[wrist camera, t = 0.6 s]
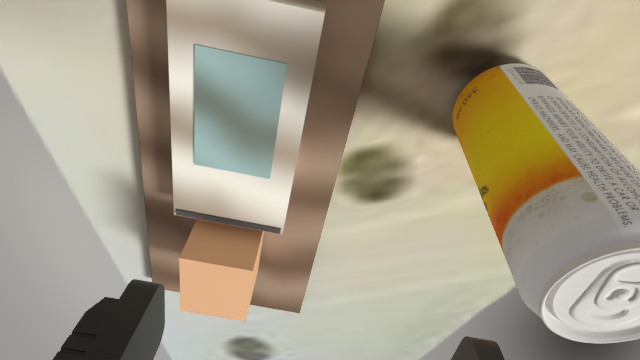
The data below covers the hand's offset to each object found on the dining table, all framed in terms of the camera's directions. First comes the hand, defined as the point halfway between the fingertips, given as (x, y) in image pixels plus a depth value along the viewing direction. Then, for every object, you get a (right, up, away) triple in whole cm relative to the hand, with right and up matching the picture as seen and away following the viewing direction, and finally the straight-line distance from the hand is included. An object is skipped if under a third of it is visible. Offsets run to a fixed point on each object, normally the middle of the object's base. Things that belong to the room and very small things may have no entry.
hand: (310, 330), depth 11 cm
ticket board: (-6, +5, +20) cm, 21 cm away
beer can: (+12, +9, +15) cm, 21 cm away
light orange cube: (-7, -1, +22) cm, 24 cm away
